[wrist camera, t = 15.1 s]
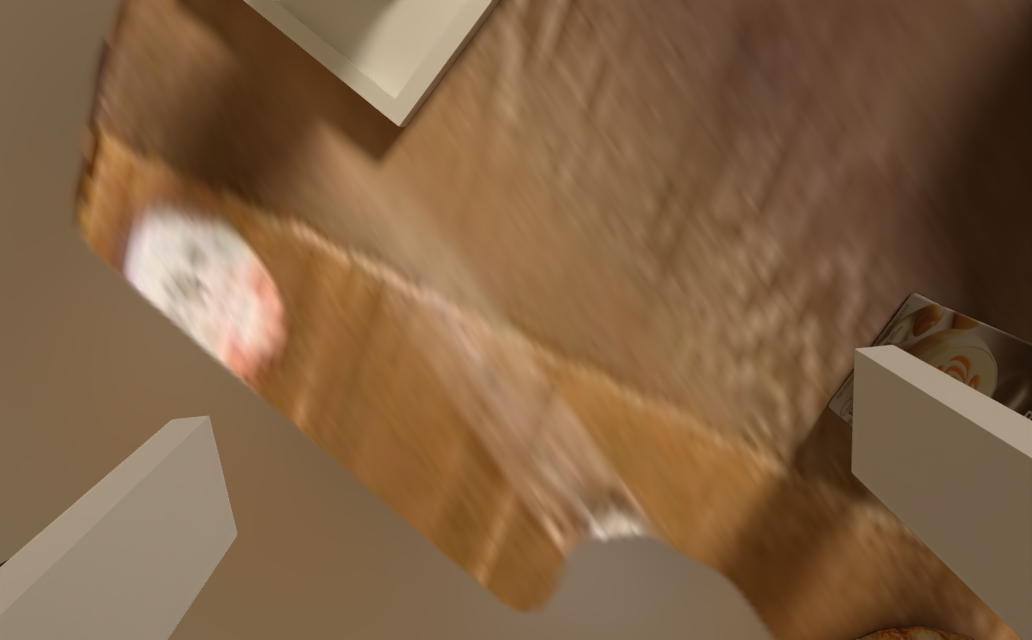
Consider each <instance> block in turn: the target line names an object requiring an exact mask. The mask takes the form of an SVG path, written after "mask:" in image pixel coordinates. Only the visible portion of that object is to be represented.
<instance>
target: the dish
mask: <svg viewBox="0 0 1032 640" xmlns="http://www.w3.org/2000/svg"><path fill="white" fill-rule="evenodd" d="M243 1H244V2H246V3H247V4H248V5H249V6H251V7H252V8H253V9H254V10H256V11H257V12H258V13H259V14H261V15H262V16H263V17H264V18H265V19H267V20H268V21H269V22H270V23H272V24H273V25H274V26H275V27H277V28H278V29H279V30H280V31H281V32H283V33H284V34H285V35H286V36H288V37H289V38H290V39H291V40H293V41H294V42H295V43H296V44H298V45H299V46H300V47H301V48H302V49H304V50H305V51H306V52H307V53H309V54H310V55H311V56H312V57H314V58H315V59H316V60H317V61H318V62H320V63H321V64H322V65H323V66H325V67H326V68H327V69H328V70H330V71H331V72H332V73H333V74H335V75H336V76H337V77H338V78H339V79H341V80H342V81H343V82H344V83H346V84H347V85H348V86H349V87H351V88H352V89H353V90H354V91H355V92H357V93H358V94H359V95H360V96H362V97H363V98H364V99H365V100H367V101H368V102H369V103H370V104H372V105H373V106H374V107H375V108H376V109H378V110H379V111H380V112H381V113H383V114H384V115H385V116H386V117H388V118H389V119H390V120H391V121H392V122H394V123H395V124H396V125H397V126H399V127H406V126H407V125H408V124H409V122H410V121H411V120H412V118H413V117H414V116H415V114H416V113H417V112H418V110H419V109H420V108H421V106H422V105H423V103H424V102H425V101H426V99H427V98H428V97H429V95H430V94H431V93H432V91H433V90H434V89H435V87H436V86H437V85H438V83H439V82H440V81H441V79H442V78H443V77H444V75H445V74H446V72H447V71H448V70H449V68H450V67H451V66H452V64H453V63H454V62H455V60H456V59H457V58H458V56H459V55H460V54H461V52H462V51H463V50H464V48H465V47H466V46H467V44H468V43H469V41H470V40H471V39H472V37H473V36H474V35H475V33H476V32H477V31H478V29H479V28H480V27H481V25H482V24H483V23H484V21H485V20H486V19H487V17H488V16H489V15H490V13H491V12H492V11H493V9H494V8H495V6H496V5H497V4H498V2H499V1H500V0H243Z"/></svg>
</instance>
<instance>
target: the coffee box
mask: <svg viewBox="0 0 1032 640" xmlns="http://www.w3.org/2000/svg"><path fill="white" fill-rule="evenodd" d="M886 345H894V346H896V347H898V348H900V349H901V350H903V351H905V352H907V353H909V354H911V355H912V356H914V357H916V358H918V359H920V360H921V361H923V362H925V363H927V364H929V365H931V366H932V367H934V368H936V369H938V370H940V371H942V372H943V373H945V374H947V375H949V376H951V377H953V378H954V379H956V380H958V381H960V382H962V383H964V384H965V385H967V386H969V387H971V388H973V389H975V390H976V391H978V392H980V393H982V394H984V395H986V396H987V397H989V398H991V399H993V400H995V401H997V402H998V403H1000V404H1002V405H1004V406H1006V407H1008V408H1009V409H1011V410H1013V411H1015V412H1017V413H1018V414H1020V415H1022V416H1024V417H1026V418H1028V419H1029V420H1031V421H1032V343H1029V342H1027V341H1025V340H1022V339H1020V338H1017V337H1015V336H1013V335H1011V334H1008V333H1006V332H1004V331H1001V330H999V329H996V328H994V327H992V326H989V325H987V324H985V323H982V322H980V321H978V320H975V319H973V318H971V317H968V316H966V315H963V314H961V313H959V312H956V311H953V310H951V309H948V308H946V307H943V306H941V305H939V304H937V303H935V302H933V301H931V300H929V299H927V298H926V297H923V296H921V295H919V294H917V293H913V294H911V295H910V297H909V298H908V299H907V300H906V302H905V303H904V305H903V306H902V307H901V308H900V310H899V311H898V313H897V314H896V315H895V317H894V318H893V319H892V320H891V322H890V323H889V324H888V326H887V327H886V329H885V330H884V331H883V333H882V334H881V335H880V336H879V338H878V339H877V340H876V342H875V343H874V344H873V346H872V347H876V346H886ZM853 392H854V371H853V372H852V374H851V375H850V376H849V378H848V379H847V380H846V381H845V383H844V384H843V385H842V387H841V388H840V390H839V391H838V392H837V393H836V395H835V396H834V398H833V399H832V400H831V402H830V403H829V405H828V406H829V408H830V409H831V410H833V411H834V412H835V413H836V414H837V415H838V416H839V417H841V418H842V419H843V420H844V421H845V422H846V423H848V424H849V425H850V426H851V427H852V428H853Z"/></svg>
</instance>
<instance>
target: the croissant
mask: <svg viewBox="0 0 1032 640" xmlns="http://www.w3.org/2000/svg"><path fill="white" fill-rule="evenodd" d="M856 640H974V639H973V638H971V637H968V636H965V635H963V634H957V633H951V632H947V631H941V630H938V629H935V628H932V627H931V628H928V627H926V626H912V627H905V628H896V627H895V628H888V629H884V630H881V631H877V632H875V633H872V634H869V635H867V636H864V637H862V638H860V639H856Z"/></svg>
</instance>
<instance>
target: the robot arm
mask: <svg viewBox="0 0 1032 640" xmlns="http://www.w3.org/2000/svg"><path fill="white" fill-rule="evenodd" d="M851 472H852V473H853V474H854V475H855V476H856V477H857V478H858V479H859V480H860V481H861V482H862V483H863V484H864V485H865V486H866V487H867V488H868V489H869V490H870V491H871V492H872V493H873V494H874V495H875V496H876V497H877V498H878V499H879V500H880V501H881V502H882V503H883V504H884V505H885V506H886V507H887V508H888V509H889V510H890V511H891V512H892V513H893V514H894V515H895V516H896V517H897V518H898V519H899V520H900V521H901V522H903V523H904V524H905V525H906V526H907V527H908V528H909V529H910V530H911V531H912V532H913V533H914V534H915V535H916V536H917V537H918V538H919V539H920V540H921V541H922V542H923V543H924V544H925V545H926V546H927V547H928V548H929V549H930V550H931V551H932V552H933V553H934V554H935V555H936V556H937V557H938V558H939V559H940V560H941V561H942V562H943V563H944V564H945V565H946V566H947V567H948V568H949V569H950V570H951V571H952V572H954V573H955V574H956V575H957V576H958V577H959V578H960V579H961V580H962V581H963V582H964V583H965V584H966V585H967V586H968V587H969V588H970V589H971V590H972V591H973V592H974V593H975V594H976V595H977V596H978V597H979V598H980V599H981V600H982V601H983V602H984V603H985V604H986V605H987V606H988V607H989V608H990V609H991V610H992V611H993V612H994V613H995V614H996V615H997V616H998V617H999V618H1000V619H1001V620H1002V621H1003V622H1005V623H1006V624H1007V625H1008V626H1009V627H1010V628H1011V629H1012V630H1013V631H1014V632H1015V633H1016V634H1017V635H1018V636H1019V637H1020V638H1021V639H1022V640H1032V421H1031V420H1029V419H1028V418H1026V417H1024V416H1022V415H1020V414H1018V413H1017V412H1015V411H1013V410H1011V409H1009V408H1008V407H1006V406H1004V405H1002V404H1000V403H998V402H997V401H995V400H993V399H991V398H989V397H987V396H986V395H984V394H982V393H980V392H978V391H976V390H975V389H973V388H971V387H969V386H967V385H965V384H964V383H962V382H960V381H958V380H956V379H954V378H953V377H951V376H949V375H947V374H945V373H943V372H942V371H940V370H938V369H936V368H934V367H932V366H931V365H929V364H927V363H925V362H923V361H921V360H920V359H918V358H916V357H914V356H912V355H911V354H909V353H907V352H905V351H903V350H901V349H900V348H898V347H896V346H894V345H886V346H876V347H867V348H857V349H855V353H854V392H853V430H852V469H851ZM236 536H237V530H236V526H235V522H234V518H233V514H232V510H231V506H230V501H229V497H228V493H227V489H226V485H225V481H224V476H223V472H222V468H221V464H220V459H219V456H218V451H217V447H216V443H215V438H214V435H213V430H212V426H211V422H210V418H209V416H202V417H193V418H183V419H174V420H171V421H170V422H169V423H167V424H166V425H165V426H164V427H163V428H162V429H160V430H159V431H158V432H157V433H156V434H155V435H153V436H152V437H151V438H150V439H149V440H148V441H146V442H145V443H144V444H143V445H142V446H141V447H139V448H138V449H137V450H136V451H135V452H134V453H132V454H131V455H130V456H129V457H128V458H127V459H125V460H124V461H123V462H122V463H121V464H120V465H118V466H117V467H116V468H115V469H114V470H113V471H111V473H109V474H108V475H107V476H106V477H105V478H103V479H102V480H101V481H100V482H99V483H98V484H96V485H95V486H94V487H93V488H92V489H91V490H90V491H88V492H87V493H86V494H85V495H84V496H82V497H81V498H80V499H79V500H78V501H77V502H75V503H74V504H73V505H72V506H71V507H70V508H68V509H67V510H66V511H65V512H64V513H63V514H61V515H60V516H59V517H58V518H57V519H56V520H54V521H53V522H52V523H51V524H50V525H49V526H48V527H46V528H45V529H44V530H43V531H42V532H41V533H39V534H38V535H37V536H36V537H35V538H34V539H33V540H31V541H30V542H29V543H28V544H27V545H25V546H24V547H23V548H22V549H21V550H20V551H18V552H17V553H16V554H15V555H14V556H13V557H12V558H10V559H9V560H7V561H5V562H4V563H2V564H0V640H168V638H169V637H170V635H171V634H172V632H173V630H174V629H175V628H176V626H177V625H178V623H179V622H180V620H181V619H182V617H183V616H184V614H185V613H186V611H187V610H188V608H189V607H190V605H191V604H192V602H193V601H194V599H195V598H196V596H197V595H198V593H199V592H200V590H201V589H202V587H203V586H204V584H205V583H206V581H207V579H208V578H209V577H210V575H211V574H212V572H213V571H214V569H215V568H216V566H217V565H218V563H219V562H220V560H221V559H222V557H223V556H224V554H225V553H226V551H227V549H228V548H229V546H230V545H231V544H232V542H233V541H234V539H235V538H236Z"/></svg>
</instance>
